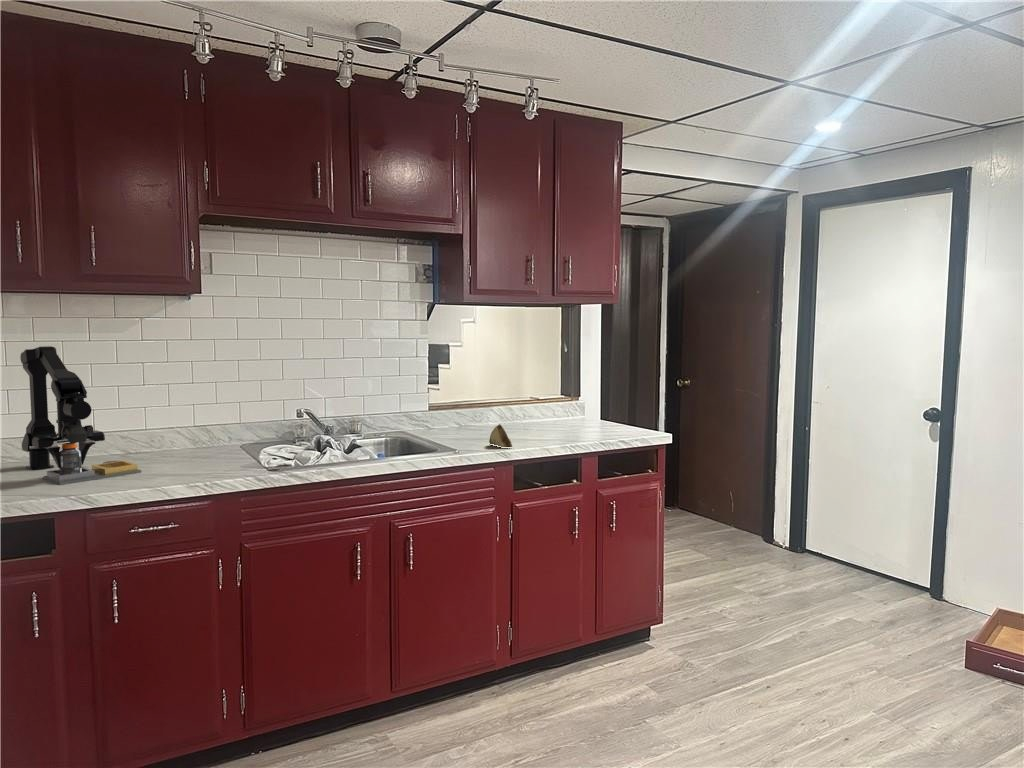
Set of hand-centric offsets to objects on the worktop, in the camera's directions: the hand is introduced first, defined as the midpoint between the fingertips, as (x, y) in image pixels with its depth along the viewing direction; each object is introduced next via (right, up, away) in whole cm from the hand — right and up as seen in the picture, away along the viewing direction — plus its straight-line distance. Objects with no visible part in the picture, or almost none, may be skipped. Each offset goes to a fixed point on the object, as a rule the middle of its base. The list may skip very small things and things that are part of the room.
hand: (70, 466), depth 225 cm
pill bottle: (0, -4, 0) cm, 4 cm away
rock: (+133, 0, +64) cm, 148 cm away
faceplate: (+4, -4, +5) cm, 8 cm away
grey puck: (+3, -3, +20) cm, 20 cm away
